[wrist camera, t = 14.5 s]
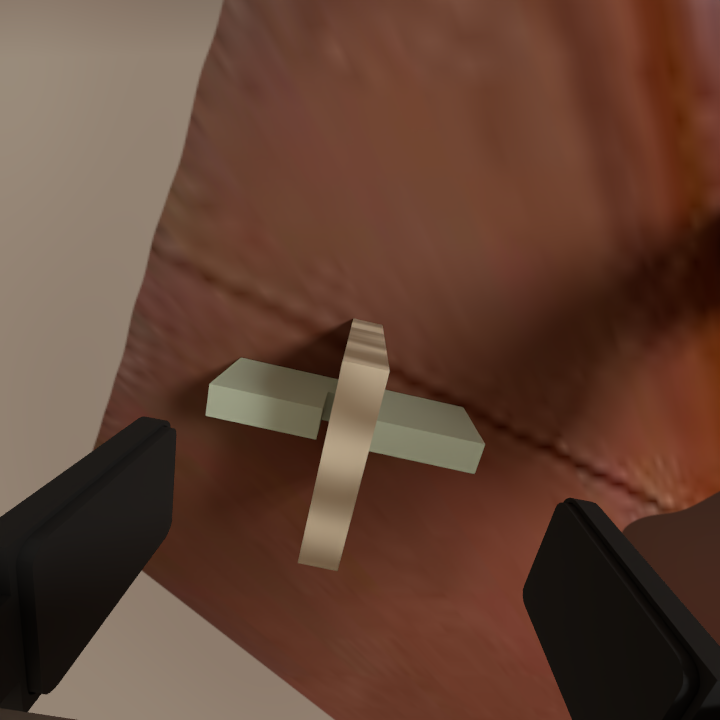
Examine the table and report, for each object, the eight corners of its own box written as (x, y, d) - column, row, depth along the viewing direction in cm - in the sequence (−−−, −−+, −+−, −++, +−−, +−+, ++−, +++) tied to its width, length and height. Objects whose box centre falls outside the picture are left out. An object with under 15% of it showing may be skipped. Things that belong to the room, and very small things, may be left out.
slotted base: (463, 407, 40) (485, 444, 32) (455, 432, 41) (474, 474, 33) (240, 357, 39) (209, 383, 32) (237, 383, 40) (205, 415, 32)
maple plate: (353, 318, 38) (342, 360, 23) (382, 325, 38) (389, 371, 23) (322, 456, 42) (297, 562, 28) (348, 461, 42) (337, 571, 28)
